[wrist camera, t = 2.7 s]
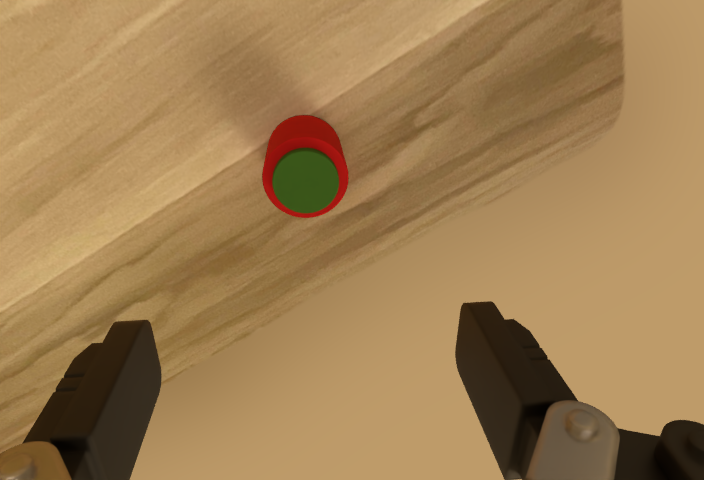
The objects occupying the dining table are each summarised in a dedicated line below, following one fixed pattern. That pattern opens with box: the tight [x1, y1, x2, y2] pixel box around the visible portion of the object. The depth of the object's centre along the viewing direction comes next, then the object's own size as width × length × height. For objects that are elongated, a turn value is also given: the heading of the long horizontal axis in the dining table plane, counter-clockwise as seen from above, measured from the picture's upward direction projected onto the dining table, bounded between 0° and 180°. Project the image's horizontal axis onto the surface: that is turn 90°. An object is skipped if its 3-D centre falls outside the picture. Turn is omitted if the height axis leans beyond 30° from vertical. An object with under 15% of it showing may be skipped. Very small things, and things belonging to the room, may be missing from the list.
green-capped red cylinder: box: [262, 115, 348, 218], centre depth 25 cm, size 4×4×5 cm
